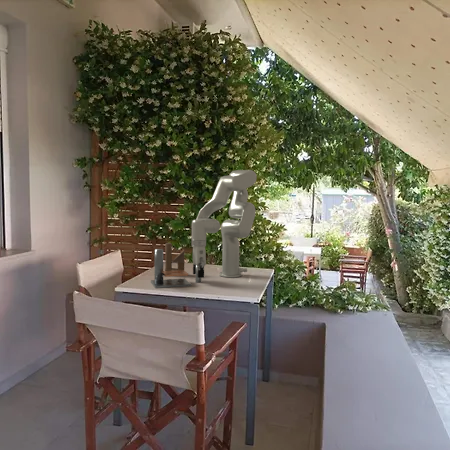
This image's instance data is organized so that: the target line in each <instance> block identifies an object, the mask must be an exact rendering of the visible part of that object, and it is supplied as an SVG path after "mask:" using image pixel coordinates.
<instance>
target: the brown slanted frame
mask: <svg viewBox="0 0 450 450" xmlns="http://www.w3.org/2000/svg"><path fill="white" fill-rule="evenodd" d="M164 246H165V247H164V248H165V250H164V253H165V254H164V255H165V257H164V258H165V259H164V261H165V263H164V266H165V268H164V271H174V270H184V271H185V249H182V251H181V252H180V253H179V254H178V255H177V256H176V257H174V259H172V258H173V257H172V256H173V244H172V243H171V242H166V243H165V245H164ZM173 264H177V267H172V266H173Z"/></svg>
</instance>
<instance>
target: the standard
mask: <svg viewBox="0 0 450 450" xmlns="http://www.w3.org/2000/svg"><path fill="white" fill-rule="evenodd" d="M185 276H186V277H188V276H189V273H188V271H186V270H185V269H184V270H174V271H165V270H164V249H163V248H155V249H154V280H150V284H152V286H153V287H154V288H155V289H163V288H179V287H180V288H181V287H192V283H191V282H189V281H188V280H187V279H186V278H171V277H185ZM164 277H165V278H166V279H164ZM169 277H170V278H171V279H170V278H169ZM167 278H169V279H167Z"/></svg>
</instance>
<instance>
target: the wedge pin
mask: <svg viewBox="0 0 450 450" xmlns="http://www.w3.org/2000/svg"><path fill="white" fill-rule="evenodd" d="M198 270H199V269H198V266H197V265H196V274H195V283H196V284H197V283H198V284H199V283H200V284H201V283H202V278H198Z"/></svg>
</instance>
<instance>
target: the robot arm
mask: <svg viewBox="0 0 450 450" xmlns="http://www.w3.org/2000/svg"><path fill="white" fill-rule="evenodd" d="M257 177H258V176H257V173H256V172H255V171H254V170H252V169H244V170H243V169H237V170H232V171H231V172H230V173H229V175H223V176H221V177H220V178H219V181H217V185H216V188H215V190H214V192H213V195H212V198H211V199H210V200H209V201H207V203H205V205H204V206H203V207H202V208H201V209H200V210H199V212H198V215H197V217H196V219H192V221H191V247H192V263H193V264H192V266H193V267H192V274H193V275H196V265H197V266H198V269H199V270H198V278H201V279H204V278H205V266H206V265H207V255H206V254H207V252H206V247H207V234H216V233H218V232H219V231H220V232H221V240H222V249H221V250H222V252H221V253H222V254H221V255H222V258H221V259H222V261H221V262H222V263H221V265H222V266H221V267H222V268H221V269H222V271H221V272H219V276H220V277H222V278H239V277H240V278H241V277H242V275H243V274H242V273H247V272H248V269H247V268H242V267H240V241H239V238H240V239H245V238H247V237H248V236H249V235H250V234H251V231H252V228H253V224H254V221H255V217H256V207H255V205H254V204H253V203H252V202H248V197H249V192H248V188H250V187H252V186H254V184H255V183H256V181H257ZM232 192H233V194H232ZM231 194H232V198H231V201H230V204H229V208H228V215H229V217H230V218H233V219H226V220H223V222H222V223H220V221H219V220H217V219H214V218H210V216H211V215H212V214H213V213H214V212H216V211H218V210H221V209H223V208H224V207H226V206H227V204H228V201H229V198H230V196H231Z"/></svg>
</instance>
